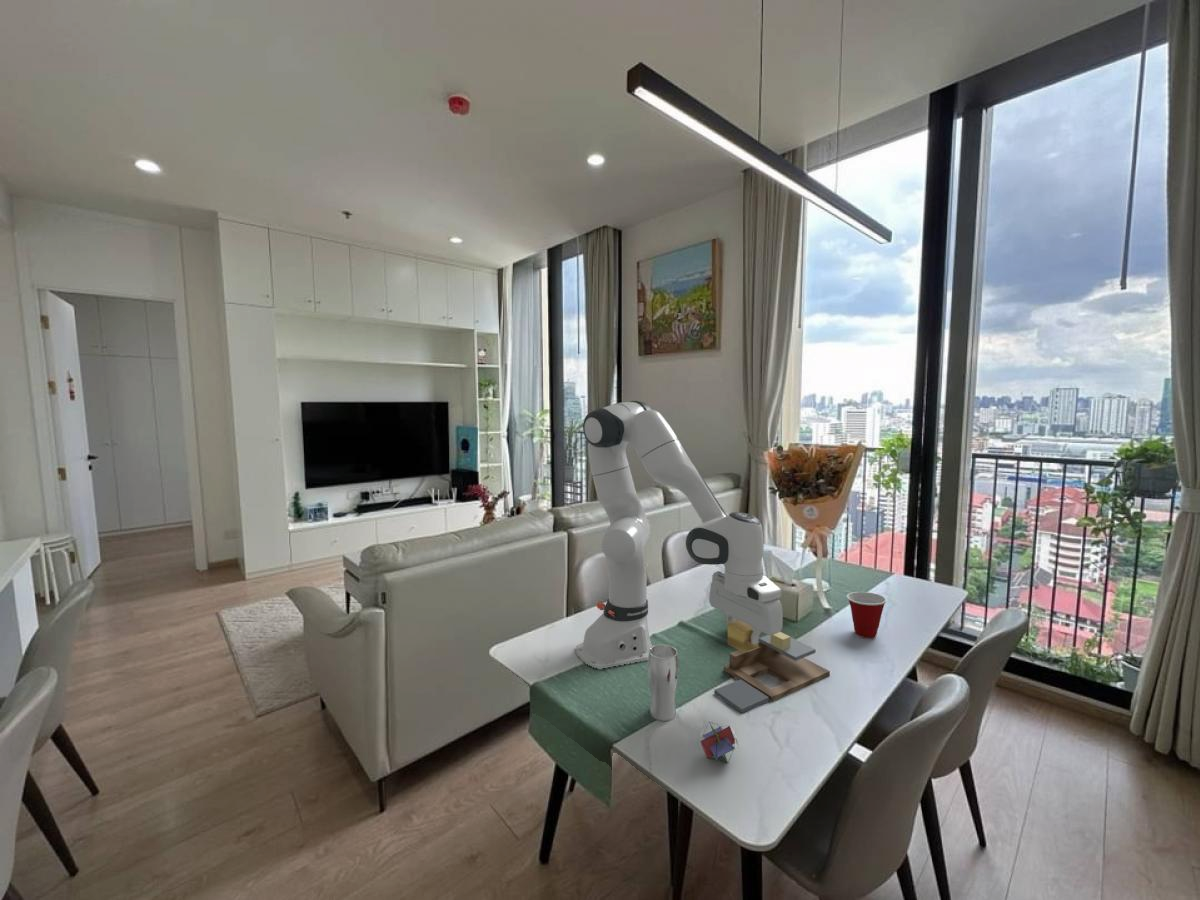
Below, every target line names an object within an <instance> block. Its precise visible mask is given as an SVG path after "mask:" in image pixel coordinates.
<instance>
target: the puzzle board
mask: <svg viewBox="0 0 1200 900" xmlns="http://www.w3.org/2000/svg"><path fill="white" fill-rule="evenodd" d="M728 663H729V664H726V665H724V666H723V671H724V672H725V673H726V674H729V675H730V676H732V677H733V678H735V679H736V680H737V681H738V680H740V679H741V680H743V681H744V682H746V683H747V684H749V685H750V686H752V687H754V688H755V689H757V690H758V691H760V692H761V693H763V694H764V695H766V696H768V697H769V702H774V701H777V700H778V699H780V698H783V697H786V696H787V695H790V694H792V693H794V692H797V691H798V690H800V689H803V688H805V687H807V686H809V685H812V684H815V683H816V682H818V681H821V680H822V679H825V678H827V677H829V676H830V674H831V673H830V672H831V671H830V670H829V669H827V668H824V667H823V666H821V665H819V664H817V663H815V662H813V661H811V660H810V659H807V658H806V657H804V658H802V659H799V660H797V661H794V660H792V659H791V658H789V657H787V656H785V655H783V654H781V653H779V652H777V651H776V650H774V649H772V648H770V647H768V646H766V645H764V644H763V643H761V642H758V648H755V649H752V650H749V651H747V652H744V653H742V652H741V651H739V650H734V651H733V652H729V662H728ZM766 673H768V674H770V675H772V676H774V677H776V678H777V679H779V680H780V681H782V682H783V683H781V684H778V685H776V686H774V687H771V688H770V687H769V686H767V685H766V684H764V683H763V682H761V681H759V680H758V679H756V677H758V676H762V675H764V674H766Z"/></svg>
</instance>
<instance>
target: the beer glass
mask: <svg viewBox="0 0 1200 900" xmlns="http://www.w3.org/2000/svg"><path fill="white" fill-rule="evenodd" d="M648 655H649V657H648V660H647V674H648V675H647V676H648V683H649V689H650V693H651V695H650V697H651V699H650V700H651V701H650V705H649V706H650V707H649V714H650V716H651V718H653V719H655V720H656V721H660V722H667V721H672V720H674V719H675V717H676V715H677V709H676V703H675V696H676V689H677V685H678V680H679V679H678V678H679V657H678V656H679V654H678V650H677V649H676V648H675V647H674V646H672V645H670V644H663V643H661V644H660V643H659V644H655V645H652V647H651V648H650V649H649V654H648Z"/></svg>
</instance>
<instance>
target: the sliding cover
mask: <svg viewBox="0 0 1200 900" xmlns="http://www.w3.org/2000/svg"><path fill="white" fill-rule="evenodd" d="M760 642H761V643H763V644H764V645H766V646H768V647H770V648H772V649H774V650H776V651H777V652H779V653H781V654H783V655H785V656H787V657H789V658H791V659H792V660H794V661H797V660H799V659H802V658H806V657H809V656H811V655H813V654H816V650H817V649H816V648H814V647H812V646H810V645H808V644H806V643H804V642H801V640H797V639H795V638H794V637H793V636H790V635H788V634H786V633H784V632H782V631H780V632H779V633H776V634H773V635H768V634H766V635H763V636H761V637H760V636H759V640H758V643H760Z"/></svg>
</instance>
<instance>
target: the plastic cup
mask: <svg viewBox="0 0 1200 900" xmlns="http://www.w3.org/2000/svg"><path fill="white" fill-rule="evenodd" d="M846 598H847V599H848V603H849V606H850V611H851V617H852V618H851V619H852V623H853V630H854V633H855V635H857V636H859V637H861V638H864V639H875V638H876V637H877V634H878V629H879V628H880V623H881V619H882V614H883V611H884V607H885V604H886V603H887V599H888V598H886V597H885V596H883V595H882V594H879V593H874V592H867V591H854V592H849V593H847V594H846ZM874 637H875V638H874Z"/></svg>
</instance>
